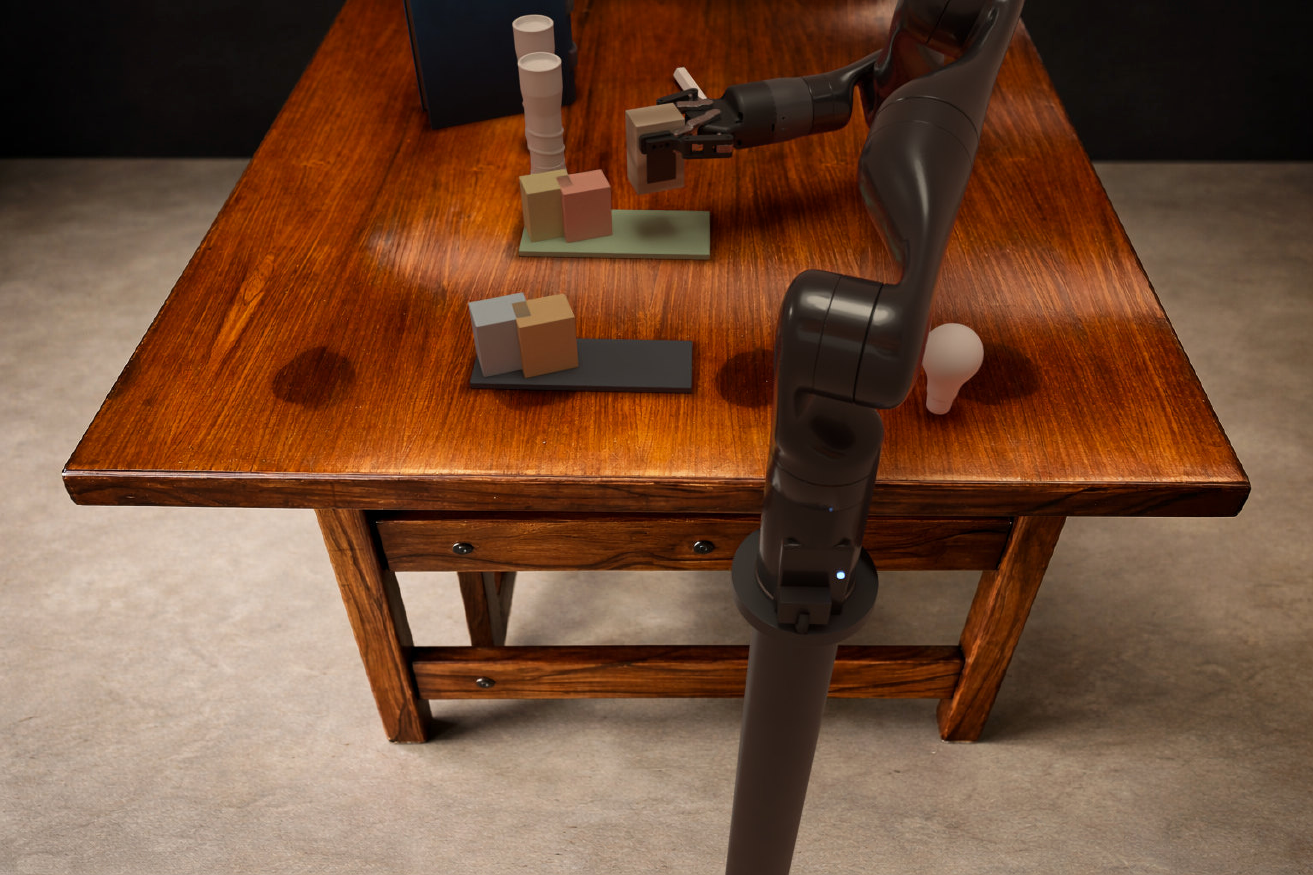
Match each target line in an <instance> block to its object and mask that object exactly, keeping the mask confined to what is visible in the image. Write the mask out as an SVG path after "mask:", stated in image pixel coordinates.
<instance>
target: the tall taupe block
mask: <svg viewBox="0 0 1313 875" xmlns="http://www.w3.org/2000/svg"><path fill="white" fill-rule="evenodd" d="M624 112H625V114H624V115H625V139H626V140H625V141H626V142H625V143H626V170H627V180H628V181H629V183H630V185H631V186H632V188H633V190H634V191H635V192H636V195H637V196H643V195H649V194H653V193H660V192H666V191H670V190H676V189H681V188H682V189H683V188H685V163H686V162H685V160H686V159H683V158H682V154H681V153H674V152H672V150H669V151H663V152H656V153H650V154H642V153H641V152H640V150H639V137H640V136H641V135H643V134H649V133H655V132H661V131H667V130H669V131H670V132H671V134H672V131H673V130H675V129H677V128H680V127H683V126H685V116H684V115H683V114H681V113H680V112H679V110H678V109H677V108H676V106H675V105H674V104H673V103H669V104H663V105H656V104H655V105H651V106H645V107H644V106H643V107H638V108H631V109H626V110H625V111H624Z"/></svg>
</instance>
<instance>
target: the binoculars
mask: <svg viewBox="0 0 1313 875" xmlns="http://www.w3.org/2000/svg"><path fill="white" fill-rule="evenodd" d="M512 26H513V32H514V42H515V50H516V55H517V59H518V67H519V78H520V88H521V93H522V97H523V103H522V104H523V106H524V111H525V113H524V124H525V127H524V136H525V139H526V143H527V144H526V145H527V150H528V151H529V154H530V175H531V174H537V173H543V172H549V171H555V170H562V169H566V171H567V172H568V169H567V166H566V158H565V150H566V145H565V143H564V136H563V134H564V131H565V129H564V127H563V121H562V106H561V102H562V88H563V85H562V71H561V59H560V58H559V57H558V56H557V55H555V54H554V51H555V44H554V30H553V21H552V20H551V19H550V18H549V17H546V16H542V15H527V16H523V17H520V18H517V19H516V20H515V21H514V22H513V24H512Z"/></svg>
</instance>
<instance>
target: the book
mask: <svg viewBox="0 0 1313 875" xmlns="http://www.w3.org/2000/svg"><path fill="white" fill-rule="evenodd" d="M402 3H403V9H404V15H405V20H406V27H407V31H408V38H409V43H410V50H411V54H412V55H411V56H412V60H413V66H414V71H415V77H416V82H417V84H416V85H417V89H418V95H419V100H420V105H421V110H422V111H423V112H425V111H427V112H428V113H427V114H428V118H429V123H430V128H431V130H432V131H433V130H438V129H444V128H449V127H454V126H459V125H460V126H461V125H466V124H471V123H476V122H477V123H478V122H482V121H488V120H493V119H498V118H503V117H510V116H515V115H521V114H525V111H524V106H523V104H522V103H523V97H522V93H521V88H520V78H519V67H518V59H517V55H516V50H515V42H514V32H513V26H512V24H513V22H514V21H515V20H516V19H517V18H520V17H523V16H527V15H542V16H546V17H549V18H550V19H551V20H552V21H553V30H554V44H555V51H554V54H555V55H557V56H558V57H559V58H560V59H561V71H562V85H563V88H562V102H561V107H563V106H569V105H571V104H573V103H574V102H575V101H576V99H577V93H576V92H577V91H576V78H575V77H576V76H575V67H576V66H577V65H578V63H579V62H578V46H577V43H576V42H575V41H574V40H573V29H572V14H571V13H572V12H573V11H574V10H575V0H402Z"/></svg>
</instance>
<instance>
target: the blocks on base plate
mask: <svg viewBox="0 0 1313 875" xmlns="http://www.w3.org/2000/svg"><path fill="white" fill-rule="evenodd" d="M467 305H468V309H469V310H468V311H469V316H470V321H471V328H472V333H473V340H474V346H475V353H476V356H475V360H474V364H473V368H472V372H471V376H470V380H469V386H470V389H490V390H532V391H533V390H535V391H540V390H542V391H574V392H575V391H578V392H579V391H580V392H581V391H582V392H583V391H584V392H619V393H620V392H621V393H623V392H624V393H625V392H627V393H666V394H692V391H693V390H692V385H693V382H692V381H693V377H692V376H693V374H692V373H693V340H672V339H671V340H669V339H625V338H624V339H621V338H619V339H618V338H617V339H616V338H577V327H576V316H575V314H574V311H573V309H572V307H571V305H570V302H569V300H568V298H567V296H566V293H564V292H563V293H558V294H553V295H548V296H542V297H537V298H533V299H532V298H531V299H526V296H525V293H524V292H517V293H512V294H506V295H502V296H497V297H492V298H491V297H490V298H487V299H481V300H475V301H471V302H468V304H467Z"/></svg>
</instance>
